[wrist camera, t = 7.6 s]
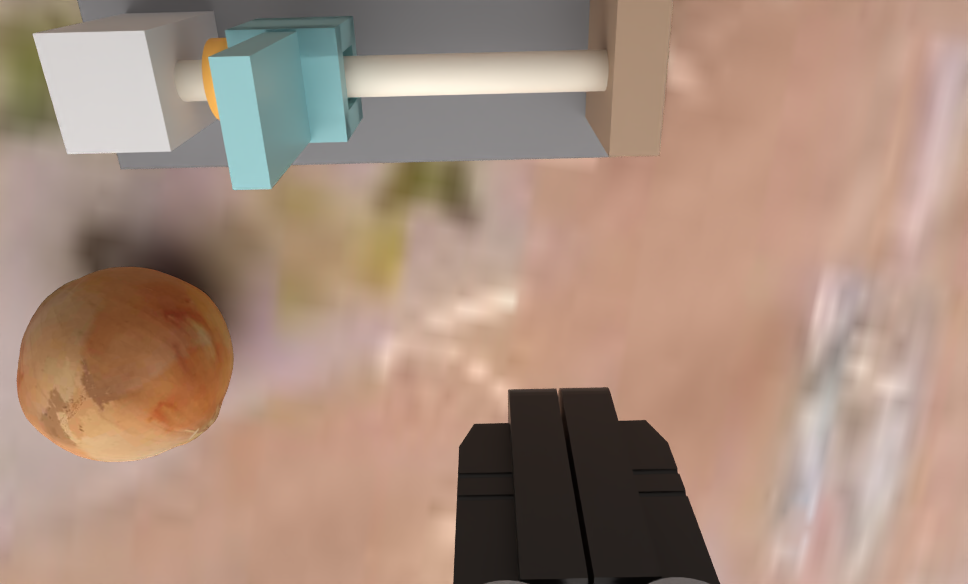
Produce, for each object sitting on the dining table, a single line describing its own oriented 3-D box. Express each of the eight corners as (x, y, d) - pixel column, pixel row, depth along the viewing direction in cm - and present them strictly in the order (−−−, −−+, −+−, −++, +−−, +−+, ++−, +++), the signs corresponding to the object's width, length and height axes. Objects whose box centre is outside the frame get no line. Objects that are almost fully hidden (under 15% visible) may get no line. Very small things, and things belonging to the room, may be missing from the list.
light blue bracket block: (353, 16, 30) (297, 51, 21) (362, 117, 32) (316, 191, 22) (257, 18, 30) (158, 54, 21) (272, 119, 32) (189, 193, 22)
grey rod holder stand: (656, -70, 32) (712, -72, 24) (640, 150, 36) (683, 207, 29) (74, -55, 32) (-51, -52, 24) (129, 163, 36) (37, 223, 29)
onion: (211, 417, 43) (142, 541, 35) (52, 335, 41) (-68, 447, 32) (287, 301, 40) (233, 405, 31) (119, 203, 37) (5, 287, 28)
